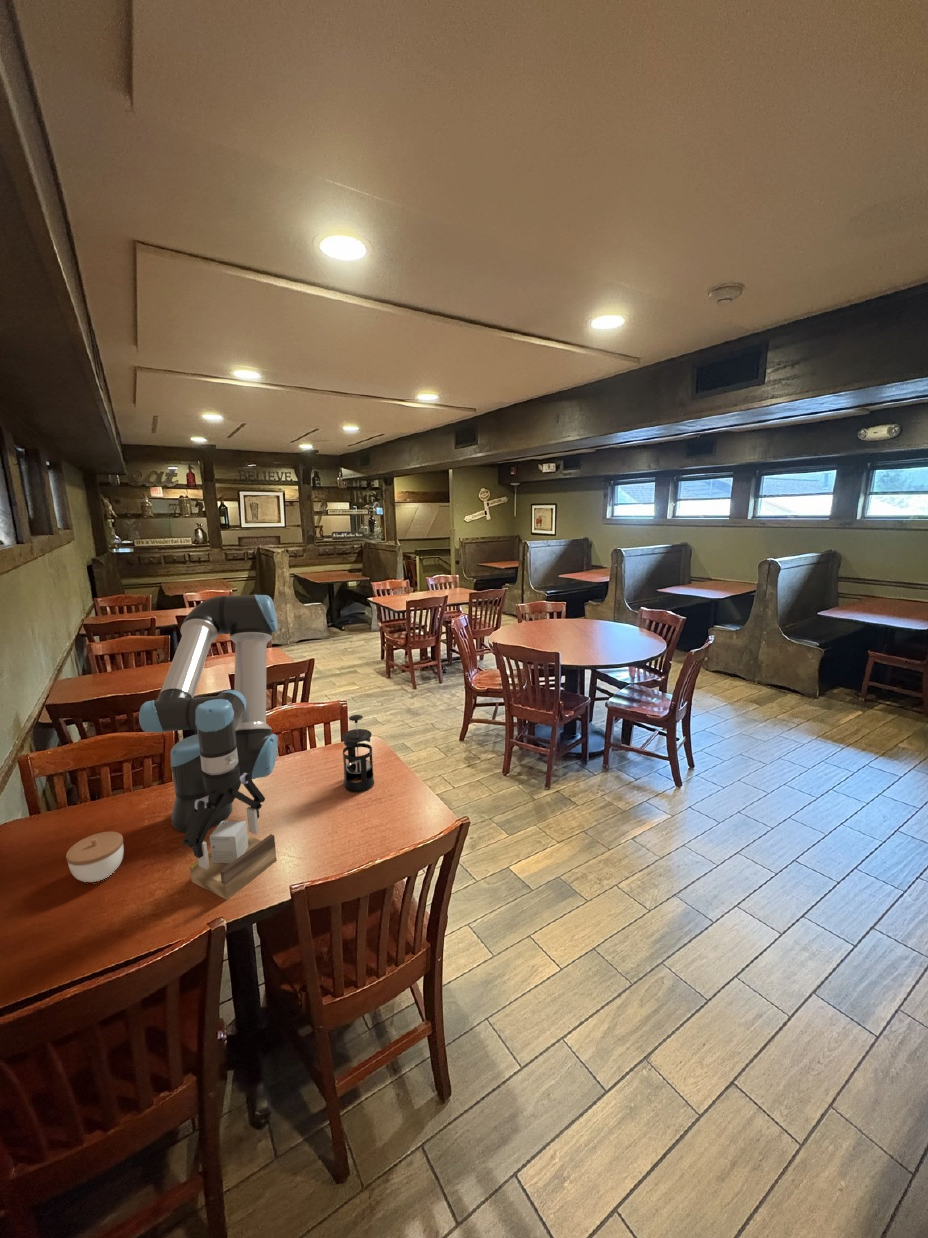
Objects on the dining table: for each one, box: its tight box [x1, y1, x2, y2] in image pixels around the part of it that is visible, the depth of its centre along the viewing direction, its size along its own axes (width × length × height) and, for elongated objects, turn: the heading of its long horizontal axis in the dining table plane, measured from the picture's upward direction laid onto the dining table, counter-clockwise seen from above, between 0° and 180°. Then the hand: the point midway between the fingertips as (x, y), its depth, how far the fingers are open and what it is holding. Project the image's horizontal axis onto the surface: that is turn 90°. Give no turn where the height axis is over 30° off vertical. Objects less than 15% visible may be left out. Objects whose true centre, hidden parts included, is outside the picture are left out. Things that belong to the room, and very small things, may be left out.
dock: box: [189, 833, 277, 901], centre depth 116 cm, size 12×14×7 cm
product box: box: [209, 820, 248, 863], centre depth 115 cm, size 6×6×7 cm
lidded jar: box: [65, 831, 125, 883], centre depth 115 cm, size 11×11×9 cm
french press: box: [341, 714, 375, 794], centre depth 152 cm, size 12×9×23 cm
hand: (230, 848), depth 116 cm, fingers open, 13 cm apart
